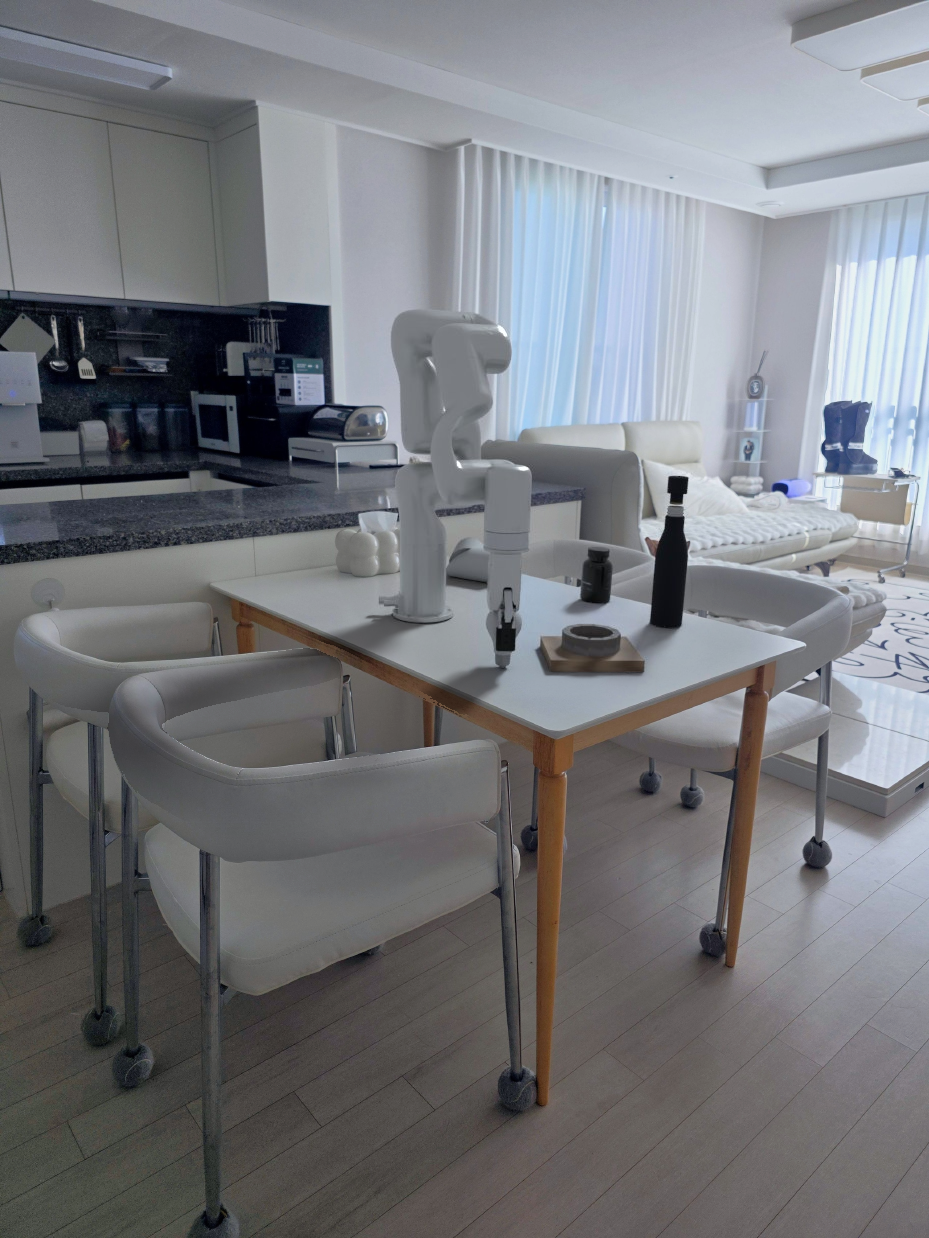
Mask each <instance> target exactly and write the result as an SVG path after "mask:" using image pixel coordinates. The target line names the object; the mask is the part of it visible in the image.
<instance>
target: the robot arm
mask: <svg viewBox="0 0 929 1238" xmlns="http://www.w3.org/2000/svg"><path fill="white" fill-rule="evenodd" d="M509 337H510V336H509V335H508V333H507V331H505V329H504V327H502V326H501V325H499V324H498V323H496V322H495V321H493V320H491V319H489V318H487V317H485V316H483V315H481V314H479V313H476V312H471V311H456V310H455V311H454V310H444V309H443V310H442V309H429V308H427V309H426V308H425V309H423V308H422V309H421V308H419V309H416V308H415V309H409V310H408V309H407V310H405V311H402V312H401V313H399V314H397V316H396V317H394V320H393V323H392V326H391V331H390V349H391V353H392V359H393V363H394V365H395V368H396V372H397V376H398V381H399V405H400V406H399V407H400V408H399V409H400V431H401V432H400V434H401V442H402V445H403V447H404V450H405V451H407V452H408V453H410V454H412V455H422V456H423V455H424V456H429V455H430V461H416V462H410V463H407V464H404V465H403V466H401V467H400V468H399V469H398V470H397V472H396V474H395V476H394V477H395V478H394V488H395V489H394V490H395V496H396V502H397V509H398V517H399V591H398V594H395V593H394V594H393V595H378V605H380V606H383V607H394V608H393V609H392V616H393V617H394V618H395V619H398V620H401V621H403V622H410V623H421V624H422V623H427V624H428V623H438V622H443V621H447V620H449V619H450V618H453V615H454V609H453V608H452V607H450V606H448V605H447V574H446V568H447V544H448V543H447V541H448V540H447V538H448V537H447V530H446V527H445V525H444V523H443V522H442V521H441V519H440V518H439V517H438V514H437V513H436V511H439V510H452V509H465V508H466V509H467V508H471V507H472V506H475V505H477V506H479V505H484V511H483V513H484V517H483V521H484V523H483V545H484V547H483V549H484V550H485V551H487V552H489V560H488V581H487V582H486V584H487V585H486V603H487V608H488V611H489V612H490V611H491V612H494V610H498V627H496V651H512V652H515V651H516V639H517V637H516V627H515V612H517V611H518V612H519V610H520V603H521V601H520V600H521V588H522V566H523V561H522V559H523V557H522V556H523V554H525V553H528V552H529V551H530V537H531V533H530V531H531V509H532V508H531V505H532V482H533V476H532V475H533V474H532V471H531V469H530V468H529V467H527V466H525V465H522V464H515V463H513V462H512V461H510V460H508V459H500V458H498V459H485V458H483V459H482V441H481V440H482V439H481V438H482V435H481V434H482V433H481V426H480V421H479V420H480V419H481V418H484V417H485V416H486V415H487V414H488V413H489V412H490V411H491V409H492V407H493V404H494V398H493V395H492V391H491V386H490V383H489V378H488V374H489V375H499V374H500V375H501V374H502V373H504V372H505V371H507V369H508V368H509V367H510V364H511V361H512V355H513V354H512V353H513V349H512V344H511V339H510V338H509ZM429 358H432V359H433V362H434V363H433V362H432V361H431V360H430V359H429ZM500 607H504V609H500ZM501 614H504V615H503V616H502V615H501Z"/></svg>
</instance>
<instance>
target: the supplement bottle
mask: <svg viewBox="0 0 929 1238" xmlns="http://www.w3.org/2000/svg"><path fill="white" fill-rule="evenodd" d="M586 556H587V557H588V558H586V559H584V561H583V562H582V567H581V577H580V579H581V580H580V582H581V583H580V592H579V593H580V594H579V599H581V601H583V602H585V603H587V604H588V603H589V604H597V605H599V604H607V603H609V602H610V600H611V595H612V593H611V592H612V581H613V571H614V570H613V569H614V565H613V562H612V561H610V560H609V558H610V548H607V547H603V546H590V547H588V549H587V555H586Z"/></svg>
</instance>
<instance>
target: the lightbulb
mask: <svg viewBox="0 0 929 1238" xmlns="http://www.w3.org/2000/svg"><path fill="white" fill-rule="evenodd" d="M500 609H504V607H500ZM501 615H502V616H503V615H504V614H501ZM522 625H523V619H522V616H521V614H520V612H519V610H518V611H517V612H515V627H516V638H517V637H518V635H519V634H520V632H521V630H522ZM485 626H486V627H485V628H486V630H487V632H488V634H489V637H490V638H491V640H492V644H493V653H494V658H495V659H494V664H495V665H496V666H498V667H499V668H501V669H504V668H506V667H508V666H509V665H510V664H511V655H512V653H513V651H496V627H498V610H494V612H491V611H490V610H489V612H488V613H487V616H486V620H485Z"/></svg>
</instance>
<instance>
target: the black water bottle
mask: <svg viewBox="0 0 929 1238" xmlns="http://www.w3.org/2000/svg"><path fill="white" fill-rule="evenodd" d="M689 480H690V479H689V477H688V476H686V475H685V476H683V475H668V478H667V489H666V493H667V494H670V497H669V502H668V503H669V504H670V505H668V506H667V508H666V510H667V511H666V513H667V514H665V517H664V526H663V527H664V529H663V531H662V533H661V536H660V538H659V540H658V542H657V543H658V544H657V547H656V549H655V550H656V551H655V555H654V567H653V568H654V569H653V579H652V580H653V581H652V590H651V591H652V592H651V604H650V616H649V617H650V618H649V623H650V624H651V625H653V626H655V627H658V628H665V629H674V628H679V627H681V626H682V625H683V616H684V604H685V592H686V583H687V582H686V581H687V573H688V572H687V571H688V562H689V549H688V543H687V539H686V537H687V536H686V534H685V520H686V519H685V518H686V517H685V515H684V514H685V513H684V511H685V509H684V508H685V507H684V506H683V504H684V495H687V494H688V491H689V489H688V487H689Z"/></svg>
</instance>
